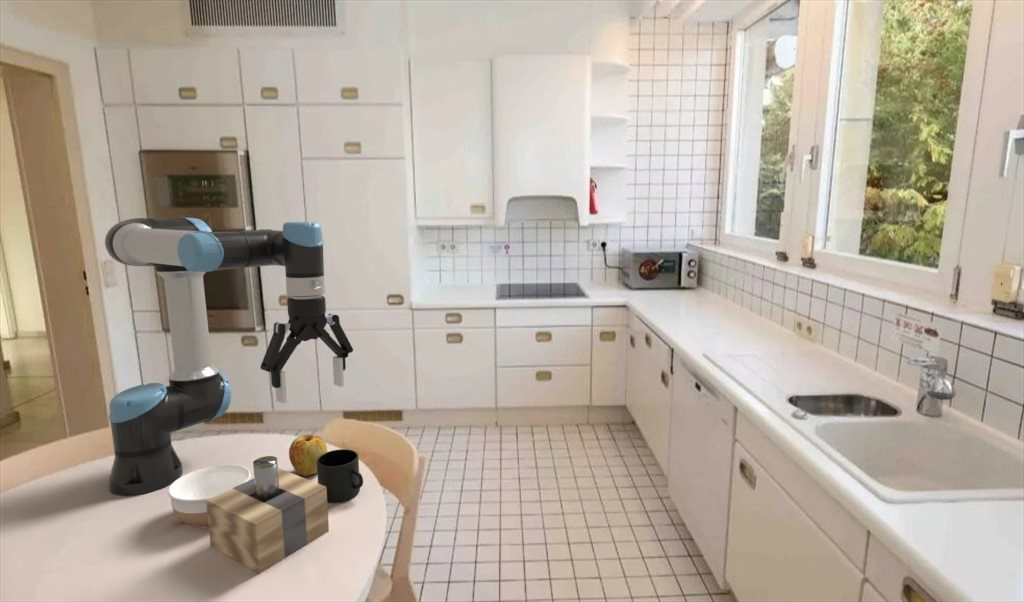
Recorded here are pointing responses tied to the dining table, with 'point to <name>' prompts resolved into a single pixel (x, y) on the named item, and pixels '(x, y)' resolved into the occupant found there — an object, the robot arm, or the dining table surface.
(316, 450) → the apple
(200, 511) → the bowl
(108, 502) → the dining table surface
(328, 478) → the mug
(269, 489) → the peg
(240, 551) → the socket block
